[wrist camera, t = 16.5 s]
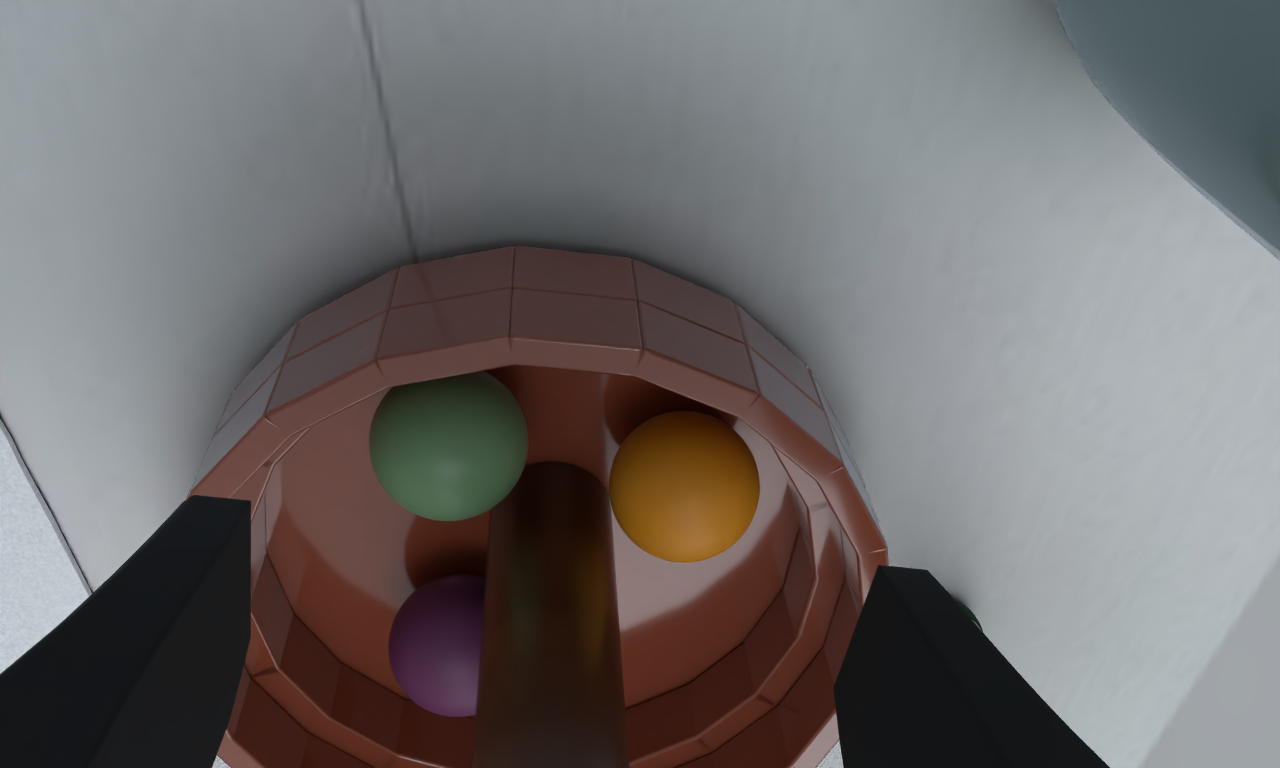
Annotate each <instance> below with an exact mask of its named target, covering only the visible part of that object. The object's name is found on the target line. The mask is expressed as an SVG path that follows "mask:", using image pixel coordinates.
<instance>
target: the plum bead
mask: <svg viewBox="0 0 1280 768" xmlns="http://www.w3.org/2000/svg"><path fill="white" fill-rule="evenodd" d="M484 589H485V578H484V577H481V576H477V575H472V574H451V575H445V576H442V577H438V578H436V579H434V580H431V581H429V582H427V583H426V584H424V585H422V586H421V587H419V588H418V589H417V590H415V591H414V592H413V593H412V594H411V595H410V596H409V597H408V598H407V599H406V600H405V602H404V603H403V604H402V606H401V607H400V609H399V611H398V612H397V614H396V616H395V618H394V621H393V623H392V627H391V631H390V635H389V644H388V648H389V660H390V665H391V668H392V671H393V674H394V676H395V679H396V681H397V682H398V684H399V686H400V687H401V689H402V690H403V691H404V693H405V694H406V695H407V696H408V697H409V698H410V699H411V700H412V701H414V702H415V703H416V704H417V705H419V706H420V707H422V708H424V709H426V710H428V711H430V712H433V713H436V714H439V715H444V716H450V717H463V716H470V715H475V714H476V701H477V687H478V673H479V659H480V645H481V631H482V617H483V603H484Z"/></svg>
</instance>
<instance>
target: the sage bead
mask: <svg viewBox="0 0 1280 768" xmlns="http://www.w3.org/2000/svg"><path fill="white" fill-rule="evenodd" d="M528 444H529V441H528V429H527V424H526V420H525V417H524V414H523V412H522V409H521V407H520V405H519V403H518V401H517V400H516V399H515V397H514V396H513V394H512V393H511V392H510V391H509V389H508V388H507V387H506V386H505V385H504V384H502V383H501V382H500V381H499V380H497V379H496V378H495V377H493V376H492V375H490V374H488V373H487V372H485V371H479V372H473V373H468V374H462V375H456V376H451V377H445V378H439V379H434V380H428V381H422V382H417V383H411V384H406V385H400V386H394V387H392V388H391V389H390V390H389V391H388V392H387V393H386V395H385V396H384V397H383V399H382V400H381V402H380V404H379V406H378V407H377V409H376V412H375V414H374V416H373V419H372V423H371V426H370V433H369V452H370V459H371V463H372V467H373V469H374V472H375V474H376V476H377V479H378V480H379V482H380V484H381V485H382V487H383V488H384V490H385V491H386V492H387V493H388V494H389V495H390V497H391V498H392V499H393V500H394V501H396V502H397V503H398V504H399V505H401V506H402V507H403V508H405V509H407V510H408V511H410V512H412V513H414V514H416V515H419V516H421V517H424V518H428V519H431V520H439V521H458V520H464V519H468V518H472V517H475V516H478V515H480V514H483V513H485V512H486V511H488V510H490V509H492V508H493V507H494V506H496V505H497V504H499V503H500V502H501V501H502V500H503V499H504V498H505V497H506V496H507V495H508V494H509V493H510V492H511V490H512V489H513V488H514V486H515V485H516V483H517V481H518V480H519V478H520V476H521V474H522V472H523V469H524V466H525V463H526V460H527V454H528Z"/></svg>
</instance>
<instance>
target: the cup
mask: <svg viewBox="0 0 1280 768" xmlns="http://www.w3.org/2000/svg"><path fill="white" fill-rule="evenodd" d="M1054 2H1055V7H1056V12H1057V15H1058V17H1059V19H1060V22H1061V24H1062V26H1063V29H1064V31H1065V33H1066V35H1067V37H1068V39H1069V41H1070V43H1071V45H1072V47H1073V49H1074V51H1075V53H1076V55H1077V57H1078V59H1079V61H1080V63H1081V65H1082V67H1083V69H1084V70H1085V72H1086V73H1087V75H1088V76H1089V78H1090V79H1091V81H1092V82H1093V84H1094V85H1095V87H1096V88H1097V89H1098V90H1099V91H1100V92H1101V94H1102V95H1103V96H1104V97H1105V98H1106V99H1107V101H1108V102H1109V103H1110V104H1111V105H1112V107H1113V108H1114V109H1115V110H1116V111H1117V112H1118V113H1119V114H1120V115H1121V116H1122V117H1123V118H1124V119H1125V120H1126V121H1127V122H1128V124H1129V125H1130V126H1131V127H1132V128H1133V129H1134V130H1135V131H1136V132H1137V133H1138V134H1139V135H1140V136H1141V137H1142V138H1143V139H1144V140H1145V141H1146V142H1147V143H1148V144H1149V145H1150V146H1151V147H1152V148H1153V149H1154V150H1155V151H1156V153H1157V154H1158V155H1159V156H1160V157H1161V158H1162V159H1163V160H1164V161H1165V162H1166V163H1168V164H1169V165H1170V166H1171V167H1172V168H1173V169H1174V170H1175V171H1176V172H1177V173H1178V174H1179V175H1181V176H1182V177H1183V178H1184V179H1185V180H1186V181H1187V182H1188V183H1189V184H1190V185H1191V186H1193V187H1194V188H1195V189H1196V190H1197V191H1198V192H1199V193H1201V194H1202V195H1203V196H1204V197H1205V198H1206V199H1208V200H1209V201H1210V202H1211V203H1212V204H1213V205H1214V206H1216V207H1217V208H1218V209H1219V210H1220V211H1221V212H1223V213H1224V214H1225V215H1226V216H1227V217H1228V218H1230V219H1231V220H1232V221H1233V222H1234V223H1236V224H1237V225H1238V226H1239V227H1240V228H1242V229H1243V230H1244V231H1245V232H1246V233H1247V234H1249V235H1250V236H1251V237H1252V238H1253V239H1255V240H1256V241H1257V242H1258V243H1259V244H1261V245H1262V246H1263V247H1264V248H1265V249H1267V250H1268V251H1269V252H1270V253H1271V254H1273V255H1274V256H1275V257H1276V258H1277V259H1279V260H1280V0H1054Z"/></svg>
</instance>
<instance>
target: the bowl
mask: <svg viewBox="0 0 1280 768" xmlns="http://www.w3.org/2000/svg"><path fill="white" fill-rule="evenodd" d="M479 371H485V372H487V373H488V374H490V375H492V376H493V377H495V378H496V379H497V380H499V381H500V382H501V383H502V384H504V385H505V386H506V387H507V388H508V389H509V391H510V392H511V393H512V394H513V396H514V397H515V399H516V400H517V401H518V403H519V405H520V407H521V409H522V412H523V414H524V417H525V420H526V424H527V429H528V441H529V444H528V454H527V460H526V463H525V466H524V467H526V466H529V465H533V464H537V463H544V462H559V463H566V464H570V465H574V466H576V467H579V468H581V469H583V470H585V471H587V472H589V473H590V474H591V475H593V476H594V477H595V478H596V479H597V480H599V482H600V483H601V484H602V485H603V486H604V488H605V490H606V491H607V493H608V496H609V476H610V470H611V467H612V463H613V460H614V457H615V455H616V453H617V451H618V449H619V447H620V446H621V444H622V443H623V441H624V440H625V439H626V438H627V437H628V435H629V434H630V433H631V432H632V431H633V430H634V429H636V428H637V427H638V426H640V425H641V424H642V423H644V422H645V421H647V420H649V419H651V418H653V417H655V416H658V415H661V414H664V413H668V412H675V411H695V412H700V413H704V414H707V415H710V416H712V417H715V418H717V419H719V420H721V421H723V422H724V423H726V424H727V425H729V426H730V427H731V428H733V429H734V430H735V431H736V432H737V433H738V434H739V435H740V436H741V437H742V438H743V440H744V441H745V442H746V444H747V445H748V447H749V449H750V450H751V452H752V454H753V456H754V459H755V462H756V465H757V469H758V473H759V480H760V495H759V501H758V506H757V509H756V512H755V515H754V518H753V520H752V522H751V524H750V525H749V527H748V528H747V530H746V532H745V533H744V534H743V535H742V537H741V538H740V539H739V540H738V541H737V542H736V543H735V544H733V545H732V546H731V547H730V548H729V549H727V550H725V551H724V552H722V553H721V554H719V555H717V556H714V557H712V558H709V559H706V560H703V561H697V562H689V563H681V562H671V561H666V560H663V559H660V558H657V557H655V556H653V555H651V554H649V553H647V552H645V551H643V550H642V549H641V548H639V547H638V546H637V545H635V544H634V543H633V542H632V541H631V540H630V539H629V538H628V537H627V535H626V534H625V533H624V532H623V530H622V529H621V527H620V526H619V524H618V522H617V520H616V518H615V516H614V513H613V510H612V506H611V513H612V527H613V542H614V556H615V570H616V585H617V599H618V613H619V628H620V642H621V656H622V670H623V685H624V699H625V713H626V728H627V742H628V756H629V768H816V767H817V766H818V765H819V764H820V762H821V761H822V760H823V759H824V758H825V756H826V755H827V754H828V753H829V752H830V750H831V749H832V748H833V747H834V745H835V744H836V743H837V742H838V741H839V733H838V724H837V716H836V708H835V700H834V691H833V687H834V684H835V682H836V679H837V676H838V673H839V671H840V668H841V665H842V663H843V660H844V657H845V654H846V652H847V649H848V646H849V643H850V641H851V638H852V635H853V632H854V630H855V627H856V624H857V622H858V619H859V616H860V613H861V611H862V608H863V605H864V602H865V600H866V597H867V594H868V592H869V589H870V586H871V583H872V581H873V578H874V575H875V572H876V570H877V567H878V565H883V566H889V560H888V547H887V545H886V541H885V538H884V535H883V533H882V530H881V528H880V525H879V522H878V520H877V517H876V514H875V512H874V509H873V506H872V504H871V501H870V498H869V496H868V493H867V491H866V489H865V485H864V482H863V479H862V477H861V474H860V472H859V469H858V466H857V464H856V461H855V458H854V456H853V453H852V450H851V448H850V445H849V442H848V440H847V438H846V437H845V435H844V433H843V431H842V429H841V427H840V425H839V423H838V421H837V419H836V417H835V416H834V414H833V412H832V410H831V408H830V406H829V404H828V402H827V400H826V398H825V396H824V395H823V393H822V391H821V389H820V387H819V385H818V383H817V381H816V379H815V377H814V375H813V374H812V372H811V370H810V369H809V368H807V366H806V364H804V363H803V362H802V361H801V360H800V359H799V358H798V357H797V356H795V355H794V354H793V353H792V352H791V351H790V350H789V349H787V348H786V347H785V346H784V345H783V344H782V343H781V342H780V341H778V340H777V339H776V338H775V337H774V336H773V335H772V334H770V333H769V332H768V331H767V330H766V329H765V328H764V327H762V326H761V325H760V324H759V323H758V322H757V321H756V320H755V319H753V318H752V317H751V316H750V315H749V314H748V313H747V312H745V311H744V310H743V309H742V308H741V307H740V306H739V305H737V304H734V302H733V301H732V300H731V299H728V298H726V297H724V296H721V295H719V294H716V293H714V292H712V291H709V290H707V289H705V288H702V287H700V286H697V285H695V284H693V283H690V282H688V281H686V280H683V279H681V278H678V277H676V276H674V275H671V274H669V273H667V272H664V271H662V270H660V269H657V268H655V267H652V266H650V265H648V264H645V263H643V262H641V261H638V260H636V259H631V258H628V257H619V256H609V255H600V254H591V253H581V252H572V251H562V250H553V249H544V248H534V247H525V246H515V248H514V246H509V247H504V248H498V249H493V250H487V251H482V252H476V253H471V254H465V255H460V256H454V257H449V258H443V259H438V260H432V261H427V262H421V263H415V264H410V265H404V266H401V267H399V269H398V268H395V269H393V270H391V271H389V272H388V273H386V274H384V275H382V276H380V277H378V278H376V279H374V280H372V281H370V282H368V283H367V284H365V285H363V286H361V287H359V288H357V289H355V290H353V291H351V292H349V293H347V294H345V295H344V296H342V297H340V298H338V299H336V300H334V301H332V302H330V303H328V304H326V305H324V306H322V307H321V308H319V309H317V310H315V311H313V312H311V313H309V314H307V315H305V316H303V317H302V319H301V320H300V321H298V322H296V323H295V324H294V325H293V327H292V328H291V329H290V330H289V331H288V332H287V333H286V334H285V335H284V336H283V337H282V338H281V339H280V341H279V342H278V343H277V344H276V345H275V346H274V347H273V348H272V349H271V350H270V351H269V352H268V354H267V355H266V356H265V357H264V358H263V359H262V360H261V361H260V362H259V363H258V364H257V365H256V366H255V368H254V369H253V370H252V371H251V372H250V373H249V374H248V375H247V376H246V377H245V378H244V379H243V381H242V382H241V383H240V384H239V385H238V386H237V387H236V388H235V390H234V392H233V393H232V394H231V396H230V398H229V400H228V403H227V405H226V407H225V410H224V412H223V414H222V417H221V419H220V421H219V424H218V426H217V428H216V431H215V433H214V435H213V437H212V440H211V443H210V445H209V447H208V449H207V452H206V454H205V456H204V458H203V461H202V463H201V465H200V468H199V470H198V472H197V475H196V477H195V479H194V482H193V484H192V486H191V489H190V491H189V493H188V496H187V498H186V500H187V499H188V498H190V497H191V496H193V495H201V496H211V497H220V498H230V499H240V500H250V501H251V639H250V643H249V647H248V651H247V655H246V659H245V663H244V667H243V671H242V675H241V679H240V683H239V687H238V691H237V694H236V698H235V702H234V706H233V710H232V713H231V717H230V721H229V724H228V726H227V729H226V732H225V734H224V737H223V740H222V742H221V745H220V748H219V750H218V753H217V756H218V757H219V758H221V759H222V760H223V761H224V762H225V763H226V764H227V765H228V766H230V767H231V768H472V757H473V743H474V729H475V715H476V714H475V715H470V716H463V717H450V716H444V715H439V714H436V713H433V712H430V711H428V710H426V709H424V708H422V707H420V706H419V705H417V704H416V703H415V702H414V701H412V700H411V699H410V698H409V697H408V696H407V695H406V694H405V693H404V691H403V690H402V689H401V687H400V686H399V684H398V682H397V681H396V679H395V676H394V674H393V671H392V668H391V665H390V660H389V648H388V644H389V635H390V631H391V627H392V623H393V621H394V618H395V616H396V614H397V612H398V611H399V609H400V607H401V606H402V604H403V603H404V602H405V600H406V599H407V598H408V597H409V596H410V595H411V594H412V593H413V592H414V591H415V590H417V589H418V588H419V587H421V586H422V585H424V584H426V583H427V582H429V581H431V580H434V579H436V578H438V577H442V576H445V575H451V574H472V575H477V576H481V577H484V578H485V575H486V561H487V547H488V533H489V519H490V510H488V511H486V512H485V513H483V514H480V515H478V516H475V517H472V518H468V519H464V520H458V521H439V520H431V519H428V518H424V517H421V516H419V515H416V514H414V513H412V512H410V511H408V510H407V509H405V508H403V507H402V506H401V505H399V504H398V503H397V502H396V501H394V500H393V499H392V498H391V497H390V495H389V494H388V493H387V492H386V491H385V490H384V488H383V487H382V485H381V484H380V482H379V480H378V479H377V476H376V474H375V472H374V469H373V467H372V463H371V459H370V452H369V433H370V426H371V423H372V419H373V416H374V414H375V412H376V409H377V407H378V406H379V404H380V402H381V400H382V399H383V397H384V396H385V395H386V393H387V392H388V391H389V390H390V389H391V388H392V387H394V386H400V385H406V384H411V383H417V382H422V381H428V380H434V379H439V378H445V377H451V376H456V375H462V374H468V373H473V372H479ZM609 498H610V497H609Z"/></svg>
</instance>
